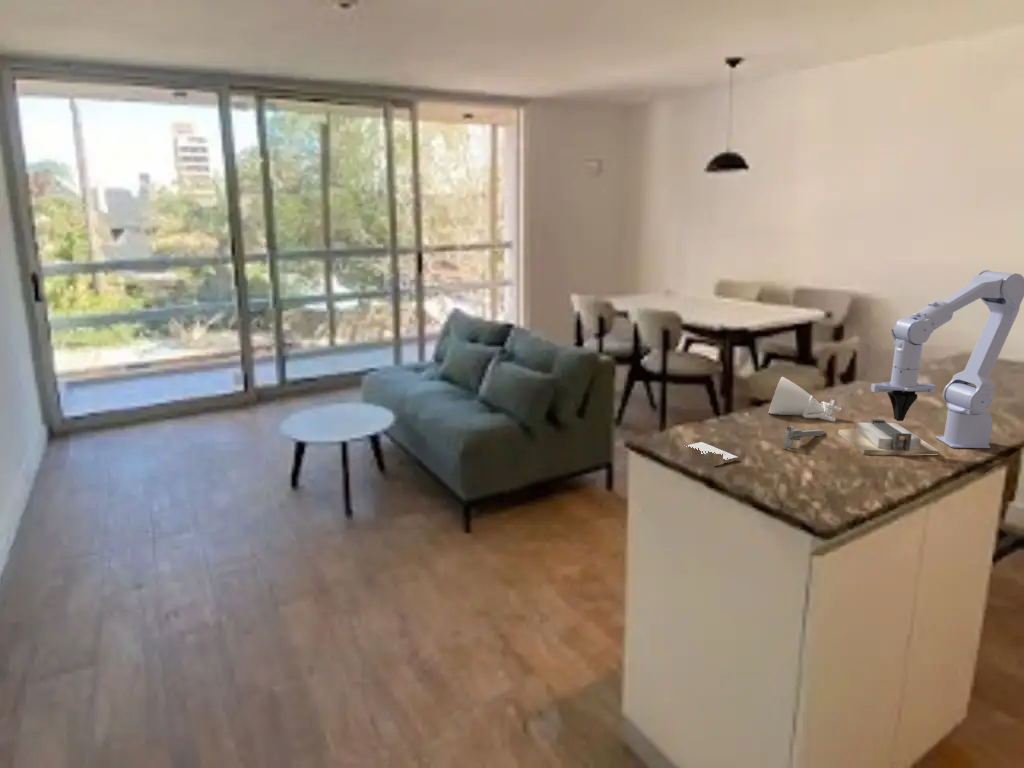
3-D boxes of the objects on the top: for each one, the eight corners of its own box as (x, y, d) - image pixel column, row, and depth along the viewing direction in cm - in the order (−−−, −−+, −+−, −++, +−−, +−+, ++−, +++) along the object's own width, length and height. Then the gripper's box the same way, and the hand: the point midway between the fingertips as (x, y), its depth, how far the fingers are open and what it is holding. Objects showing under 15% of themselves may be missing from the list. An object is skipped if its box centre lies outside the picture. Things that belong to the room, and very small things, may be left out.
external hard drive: (702, 447, 180) (738, 462, 169) (678, 452, 176) (713, 468, 165) (702, 441, 179) (739, 456, 169) (678, 446, 175) (714, 462, 165)
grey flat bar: (884, 424, 183) (885, 421, 183) (908, 439, 171) (908, 437, 171) (873, 424, 183) (873, 421, 183) (895, 439, 171) (895, 437, 171)
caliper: (786, 451, 176) (788, 428, 174) (781, 450, 176) (784, 426, 175) (825, 434, 188) (828, 412, 186) (821, 433, 189) (824, 411, 187)
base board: (907, 434, 186) (910, 414, 185) (938, 455, 171) (942, 434, 169) (838, 433, 188) (840, 413, 186) (863, 454, 172) (866, 433, 171)
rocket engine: (849, 388, 196) (784, 369, 203) (837, 421, 191) (771, 399, 198) (839, 409, 206) (778, 390, 213) (828, 441, 201) (766, 420, 208)
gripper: (882, 370, 167) (876, 424, 170) (945, 371, 166) (937, 424, 170) (869, 364, 174) (863, 416, 177) (929, 364, 173) (922, 416, 176)
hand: (898, 419), depth 174 cm, fingers closed
